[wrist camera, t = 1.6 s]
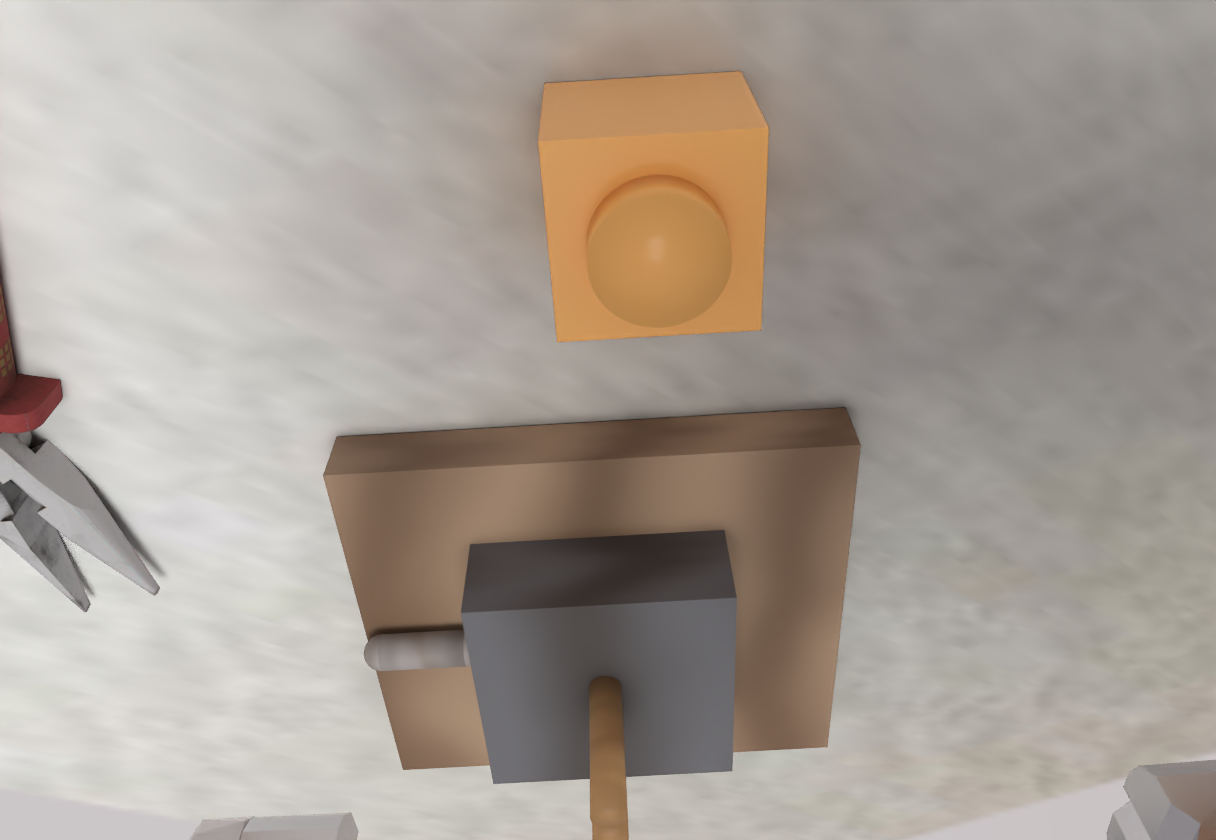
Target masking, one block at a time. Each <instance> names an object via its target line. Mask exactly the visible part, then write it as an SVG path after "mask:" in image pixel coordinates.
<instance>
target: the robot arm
mask: <svg viewBox="0 0 1216 840" xmlns="http://www.w3.org/2000/svg"><path fill="white" fill-rule="evenodd" d="M1123 787H1124V789H1125V791H1126V793H1127V794H1128V797H1129V799H1130V801H1129V802H1128V803H1126V804H1125V805H1124V806H1122V807H1121V808H1120V809H1118V810H1117V811H1115V812H1114V813H1113V815H1112V818H1111V821H1110V824H1109V827H1108V831H1107V840H1216V760H1207V761H1194V762H1180V763H1167V764H1154V765H1141V766H1138V767H1136V768H1135V769H1133V770H1131V771H1130V772H1129V774H1128V777H1127V779H1126V781H1125V784H1124V786H1123ZM357 835H358V829H357V826H356V824H355V821H354V819H353V816H352V813H332V814H312V815H291V816H271V817H239V818H223V819H207V820H202V822H201V823H200V825H199V826H198V828H197V829H196V831H195V832H194V833H193V835H192V836H191V839H190V840H357Z"/></svg>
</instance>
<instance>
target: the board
mask: <svg viewBox="0 0 1216 840" xmlns="http://www.w3.org/2000/svg"><path fill="white" fill-rule="evenodd" d="M860 446H861V445H860V442H859V440H858V437H857V435H856V432H855V430H854V427H853V425H852V422H851V420H850V417H849V415H848V412H847V410H846V408H830V409H813V410H796V411H778V412H761V413H744V414H726V415H709V416H692V417H674V418H657V419H639V420H622V421H605V422H587V423H570V424H553V425H535V426H518V427H501V428H483V429H466V430H449V431H431V432H414V433H396V434H379V435H362V436H344V437H337V438H336V440H335V443H334V446H333V449H332V452H331V455H330V457H329V460H328V463H327V466H326V469H325V472H324V474H323V477H324V481H325V485H326V488H327V492H328V496H329V499H330V503H331V507H332V510H333V514H334V518H335V521H336V525H337V529H338V532H339V536H340V540H341V543H342V547H343V551H344V554H345V558H346V562H347V565H348V569H349V573H350V576H351V580H352V584H353V587H354V591H355V595H356V598H357V602H358V606H359V609H360V613H361V617H362V620H363V624H364V628H365V631H366V635H367V639H368V643H367V644H366V646H365V649H364V658H365V661H366V663H367V664H368V665H369V666H370V667H371V668H372V669H374V670H376V672H377V676H378V679H379V683H380V687H381V690H382V694H383V698H384V701H385V705H386V709H387V712H388V716H389V720H390V723H391V727H392V731H393V734H394V738H395V742H396V745H397V749H398V753H399V756H400V760H401V764H402V767H403V770H410V769H428V768H447V767H466V766H484V765H490V768H491V773H492V778H493V784H501V783H519V782H538V781H557V780H576V779H590V819H591V821H592V832H593V840H628V839H629V835H628V812H627V790H626V777H632V776H650V775H669V774H688V773H707V772H725V771H732V764H733V752H745V751H764V750H783V749H801V748H820V747H827V746H828V737H829V728H830V719H831V709H832V700H833V691H834V682H835V673H836V664H837V655H838V646H839V637H840V628H841V619H842V610H843V601H844V591H845V582H846V573H847V564H848V555H849V546H850V537H851V528H852V519H853V510H854V501H855V492H856V483H857V474H858V464H859V455H860Z"/></svg>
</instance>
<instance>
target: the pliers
mask: <svg viewBox="0 0 1216 840" xmlns="http://www.w3.org/2000/svg"><path fill="white" fill-rule="evenodd" d="M61 400H62V390H61V383H60V379H53V378H46V377H38V376H31V375H24V374H16V370H15V364H14V358H13V352H12V346H11V340H10V334H9V329H8V323H7V317H6V311H5V305H4V299H3V293H2V287H1V281H0V539H2V540H3V541H4V542H5V543H6V544H7V545H8V546H10V547H11V548H12V549H13V550H14V551H15V552H16V553H18V554H19V555H20V556H21V557H22V558H23V559H24V560H26V561H27V562H28V563H29V564H30V565H31V566H32V567H34V568H35V569H36V570H37V571H38V572H39V573H40V574H42V575H43V576H44V577H45V578H46V579H47V580H48V581H50V582H51V583H52V584H53V585H54V586H55V587H56V588H58V589H59V590H60V591H61V592H62V593H63V594H64V595H66V596H67V597H68V598H69V599H70V600H71V601H72V602H74V603H75V604H76V605H77V606H78V607H79V608H80V609H82V610H83V611H84V612H87V610H88V608H89V606H90V605H91V604H90V601H89V599H88V597H87V595H86V593H85V591H84V588H83V586H82V584H81V582H80V580H79V577H78V575H77V573H76V571H75V569H74V567H73V564H72V562H71V560H70V558H69V556H68V554H67V551H66V549H65V547H64V545H63V543H62V540H61V538H60V536H59V534H58V532H57V530H58V531H59V532H61V533H62V534H63V535H64V536H65V537H67V538H68V539H69V540H71V541H72V542H74V543H75V544H77V545H78V546H80V547H81V548H83V549H84V550H86V551H87V552H89V553H90V554H92V555H93V556H95V557H96V558H98V559H99V560H101V561H102V562H104V563H105V564H107V565H108V566H110V567H112V568H113V569H115V570H116V571H118V572H119V573H121V574H122V575H124V576H125V577H127V578H128V579H130V580H131V581H133V582H134V583H136V584H137V585H139V586H140V587H142V588H143V589H145V590H146V591H148V592H149V593H151V594H152V595H154V596H155V595H156V594H157V593H158V591H159V589H160V587H159V586H158V584H157V583H156V581H155V580H154V578H153V577H152V575H151V574H150V572H149V571H148V569H147V568H146V566H145V565H144V563H143V562H142V561H141V559H140V558H139V556H138V555H137V553H136V552H135V550H134V549H133V547H132V546H131V544H130V543H129V541H128V540H127V538H126V537H125V535H124V534H123V533H122V531H121V530H120V528H119V527H118V525H117V524H116V522H115V521H114V519H113V518H112V516H111V515H110V513H109V512H108V510H107V509H106V507H105V506H104V505H103V503H102V502H101V500H100V499H99V497H98V496H97V494H96V493H95V491H94V490H93V488H92V487H91V485H90V484H89V482H88V481H87V479H86V478H85V477H84V476H83V475H82V474H81V472H80V471H79V470H78V469H77V468H76V467H75V466H74V465H73V463H72V462H71V461H70V460H69V459H68V458H67V457H66V456H65V455H64V454H63V453H62V452H61V451H60V450H59V449H58V448H57V447H56V446H55V445H53V444H52V443H51V442H50V441H49V440H46V441H44V442H42V443H41V444H39V445H37V446H35V447H33V448H32V449H29V448H28V447H29V445H30V443H31V440H32V434H31V430H34V429H36V428H38V427H40V426H41V425H42V424H43V423H44V422H45V421H46V419H47V418H48V417H49V416H50V414H51V413H52V412H53V410H54V409H55V408H56V407H57V405H58V404H59V403H60V401H61ZM10 480H12V481H13V482H14V483H15V484H16V485H15V484H13V483H12V482H11V481H10ZM17 485H18V486H17ZM56 529H57V530H56Z"/></svg>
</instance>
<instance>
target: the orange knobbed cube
mask: <svg viewBox="0 0 1216 840" xmlns="http://www.w3.org/2000/svg"><path fill="white" fill-rule="evenodd" d="M768 137H769V127H768V125H767V123H766V121H765V119H764V117H763V115H762V113H761V111H760V109H759V107H758V104H757V102H756V100H755V98H754V96H753V94H752V92H751V90H750V88H749V86H748V84H747V82H746V80H745V78H744V76H743V74H742V72H741V71H734V72H717V73H701V74H685V75H669V76H653V77H636V78H620V79H604V80H588V81H571V82H555V83H544V91H543V101H542V110H541V119H540V128H539V138H538V146H539V157H540V167H541V177H542V188H543V198H544V209H545V219H546V230H547V240H548V251H549V261H550V272H551V282H552V293H553V303H554V314H555V324H556V335H557V342H568V341H585V340H602V339H619V338H636V337H653V336H670V335H687V334H705V333H722V332H739V331H756V330H761V323H762V297H763V270H764V243H765V217H766V190H767V164H768Z"/></svg>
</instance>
